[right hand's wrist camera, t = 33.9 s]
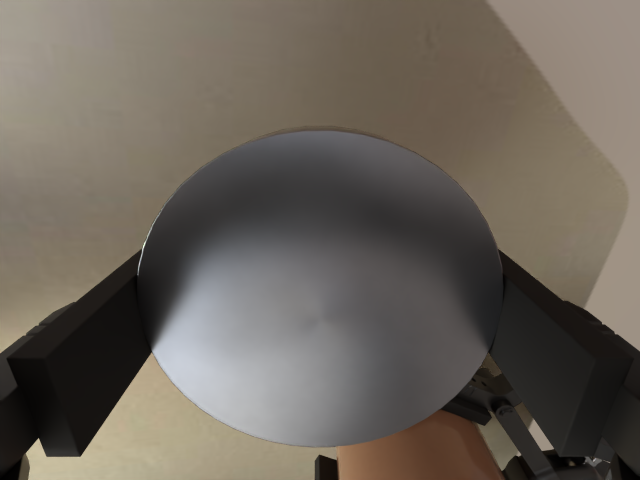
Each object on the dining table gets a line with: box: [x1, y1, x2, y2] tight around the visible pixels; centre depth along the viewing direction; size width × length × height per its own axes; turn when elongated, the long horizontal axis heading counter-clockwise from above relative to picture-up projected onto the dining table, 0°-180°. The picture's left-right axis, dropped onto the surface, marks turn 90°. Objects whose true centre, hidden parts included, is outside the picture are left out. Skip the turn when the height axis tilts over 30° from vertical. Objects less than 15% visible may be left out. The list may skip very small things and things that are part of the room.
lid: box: [137, 126, 504, 447], centre depth 11 cm, size 11×11×2 cm
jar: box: [336, 409, 506, 480], centre depth 23 cm, size 10×10×15 cm
